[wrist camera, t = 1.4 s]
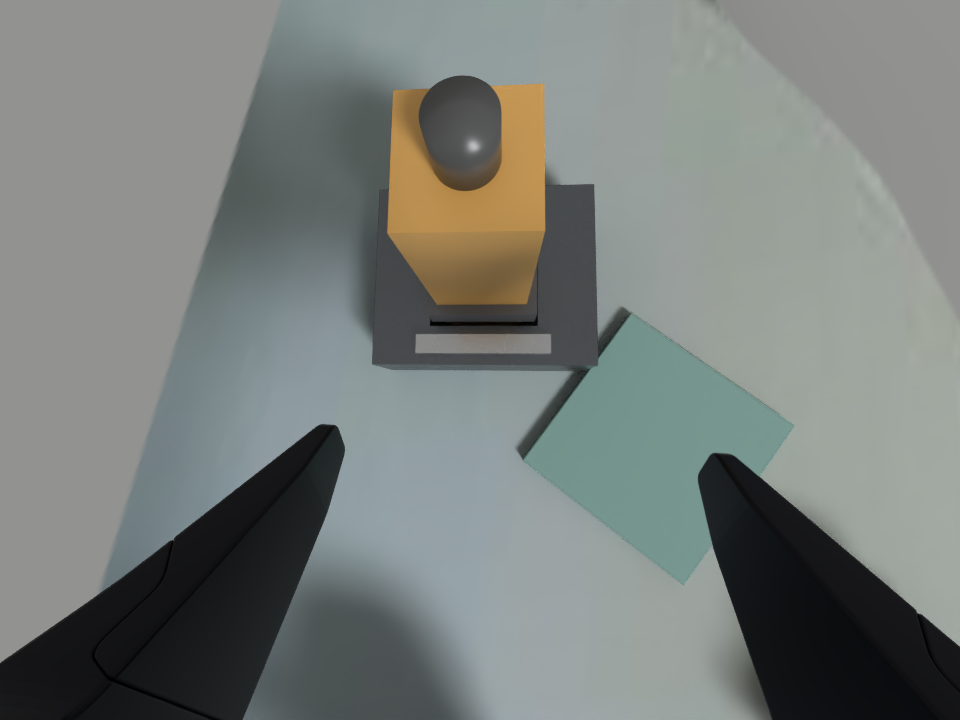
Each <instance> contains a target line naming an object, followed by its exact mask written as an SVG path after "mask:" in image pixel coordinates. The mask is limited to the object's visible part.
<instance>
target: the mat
mask: <svg viewBox="0 0 960 720" xmlns="http://www.w3.org/2000/svg"><path fill="white" fill-rule="evenodd" d="M794 426H795V425H793V424H792V423H790V422H789V421H787V420H786V419H784V418H783V417H782V416H780V415H779V414H777V413H776V412H774V411H773V410H771V409H770V408H769V407H767V406H766V405H764V404H763V403H761V402H760V401H758V400H757V399H755V398H754V397H753V396H751V395H750V394H748V393H747V392H745V391H744V390H742V389H741V388H739V387H738V386H737V385H735V384H734V383H732V382H731V381H729V380H728V379H726V378H725V377H723V376H722V375H721V374H719V373H718V372H716V371H715V370H713V369H712V368H710V367H709V366H707V365H706V364H705V363H703V362H702V361H700V360H699V359H697V358H696V357H694V356H693V355H691V354H690V353H689V352H687V351H686V350H684V349H683V348H681V347H680V346H678V345H677V344H675V343H674V342H673V341H671V340H670V339H668V338H667V337H665V336H664V335H662V334H661V333H659V332H658V331H657V330H655V329H654V328H652V327H651V326H649V325H648V324H646V323H645V322H644V321H642V320H641V319H639V318H638V317H636V316H635V315H633V314H630V315H629V316H628V317H627V318H626V320H625V321H624V322H623V324H622V325H621V326H620V328H619V329H618V330H617V332H616V333H615V334H614V336H613V337H612V339H611V340H610V341H609V343H608V344H607V345H606V347H605V348H604V349H603V351H602V352H601V353H600V355H599V356H598V366H596V367H593V368H590V369H589V370H588V371H587V372H586V374H585V375H584V376H583V378H582V379H581V381H580V382H579V383H578V385H577V386H576V387H575V389H574V390H573V391H572V393H571V394H570V395H569V397H568V398H567V399H566V401H565V402H564V404H563V405H562V406H561V408H560V409H559V410H558V412H557V413H556V414H555V416H554V417H553V418H552V420H551V421H550V423H549V424H548V425H547V427H546V428H545V429H544V431H543V432H542V433H541V435H540V436H539V437H538V439H537V440H536V441H535V443H534V444H533V446H532V447H531V448H530V450H529V451H528V452H527V454H526V455H525V456H524V458H523V461H524V462H525V463H526V464H528V465H529V466H530V467H532V468H533V469H534V470H535V471H537V472H538V473H539V474H541V475H542V476H543V477H544V478H546V479H547V480H548V481H550V482H551V483H552V484H554V485H555V486H556V487H557V488H559V489H560V490H561V491H563V492H564V493H565V494H566V495H568V496H569V497H570V498H572V499H573V500H574V501H575V502H577V503H578V504H579V505H581V506H582V507H583V508H584V509H586V510H587V511H588V512H590V513H591V514H592V515H593V516H595V517H596V518H597V519H599V520H600V521H601V522H602V523H604V524H605V525H606V526H608V527H609V528H610V529H612V530H613V531H614V532H615V533H617V534H618V535H619V536H621V537H622V538H623V539H624V540H626V541H627V542H628V543H630V544H631V545H632V546H633V547H635V548H636V549H637V550H639V551H640V552H641V553H642V554H644V555H645V556H646V557H648V558H649V559H650V560H651V561H653V562H654V563H655V564H657V565H658V566H659V567H660V568H662V569H663V570H664V571H666V572H667V573H668V574H669V575H671V576H672V577H673V578H675V579H676V580H677V581H679V582H680V583H681V584H682V585H684V584H685V583H686V581H687V580H688V578H689V577H690V575H691V574H692V573H693V571H694V570H695V568H696V567H697V565H698V564H699V563H700V561H701V560H702V558H703V557H704V555H705V554H706V552H707V551H708V550H709V548H710V547H711V545H712V541H711V537H710V533H709V529H708V524H707V520H706V516H705V511H704V507H703V503H702V498H701V494H700V490H699V485H698V474H699V471H700V470H701V468H702V467H703V465H704V463H705V462H706V460H707V459H708V457H709V456H710V454H712V453H728V454H732V455H734V456H735V457H737V458H738V459H739V460H740V461H741V462H743V463H744V464H745V465H746V466H747V467H749V468H750V469H751V470H752V471H753V472H754V473H756V474H757V475H758V476H760V475H761V474H762V472H763V471H764V469H765V468H766V466H767V465H768V463H769V462H770V461H771V459H772V458H773V456H774V455H775V453H776V452H777V451H778V449H779V448H780V446H781V445H782V443H783V442H784V441H785V439H786V438H787V436H788V435H789V433H790V432H791V430H792V429H793V428H794Z"/></svg>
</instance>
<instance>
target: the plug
mask: <svg viewBox="0 0 960 720" xmlns="http://www.w3.org/2000/svg"><path fill="white" fill-rule="evenodd" d="M387 234H388V235H389V237H390V238H391V239H392V241H393V242H394V244H395V245H396V247H397V248H398V249H399V251H400V252H401V254H402V255H403V257H404V258H405V260H406V261H407V262H408V264H409V265H410V267H411V268H412V270H413V271H414V272H415V274H416V275H417V277H418V278H419V280H420V281H421V283H422V284H423V285H424V287H425V288H426V290H427V316H428V317H429V318H430V319H431V320H432V321H433V322H449V323H450V324H451V326H521V325H522V322H533V321H535V319H536V316H537V262H538V258H539V254H540V250H541V246H542V242H543V238H544V234H545V133H544V84H529V85H506V86H490V85H488V84H487V83H486V82H484V81H482V80H480V79H478V78H475V77H471V76H454V77H450V78H447V79H444V80H442V81H440V82H438V83H437V84H435V85H434V86H433V87H432V88H431V89H415V90H393V108H392V132H391V156H390V180H389V204H388V228H387Z"/></svg>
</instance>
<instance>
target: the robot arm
mask: <svg viewBox="0 0 960 720" xmlns="http://www.w3.org/2000/svg"><path fill="white" fill-rule="evenodd" d="M344 453H345V446H344V443H343V440H342V437H341V434H340V431H339V429H338V427H337V426H336V425H327V424H321V425H318V426H317V427H315V428H314V429H313V430H312V431H310V432H309V433H308V434H306V435H305V436H304V437H303V438H301V439H300V440H299V441H297V442H296V443H295V444H294V445H292V446H291V447H290V448H288V449H287V450H286V451H285V452H283V453H282V454H281V455H279V456H278V457H277V458H276V459H274V460H273V461H272V462H271V463H269V464H268V465H267V466H265V467H264V468H263V469H262V470H260V471H259V472H258V473H256V474H255V475H254V476H253V477H251V478H250V479H249V480H247V481H246V482H245V483H244V484H242V485H241V486H240V487H239V488H237V489H236V490H235V491H233V492H232V493H231V494H230V495H228V496H227V497H226V498H224V499H223V500H222V501H221V502H219V503H218V504H217V505H215V506H214V507H213V508H212V509H210V510H209V511H208V512H207V513H205V514H204V515H203V516H201V517H200V518H199V519H198V520H196V521H195V522H194V523H192V524H191V525H190V526H189V527H187V528H186V529H185V530H183V531H182V532H181V533H180V534H178V535H177V536H176V537H175V538H174V541H173V540H171V541H169V542H168V543H167V544H165V545H164V546H163V547H161V548H160V549H159V550H158V551H156V552H155V553H154V554H153V555H151V556H150V557H149V558H147V559H146V560H145V561H143V562H142V563H141V564H139V565H138V566H137V567H135V568H134V569H133V570H131V571H130V572H129V573H127V574H126V575H125V576H123V577H122V578H121V579H119V580H118V581H117V582H115V583H114V584H112V585H111V586H110V587H108V588H107V589H105V590H104V591H103V592H101V593H100V594H98V595H97V596H96V597H94V598H93V599H91V600H90V601H89V602H88V603H86V604H84V605H83V606H82V607H80V608H79V609H77V610H76V611H74V612H73V613H71V614H70V615H69V616H67V617H66V618H64V619H63V620H61V621H60V622H58V623H57V624H55V625H54V626H53V627H51V628H50V629H48V630H47V631H45V632H44V633H43V634H41V635H40V636H38V637H37V638H35V639H34V640H32V641H31V642H29V643H28V644H27V645H25V646H24V647H22V648H21V649H19V650H18V651H16V652H15V653H14V654H12V655H11V656H9V657H8V658H6V659H5V660H4V661H2V662H1V663H0V720H243V717H244V715H245V713H246V710H247V708H248V705H249V703H250V700H251V698H252V695H253V693H254V691H255V688H256V686H257V683H258V681H259V678H260V676H261V674H262V671H263V669H264V666H265V664H266V661H267V659H268V656H269V654H270V652H271V649H272V647H273V644H274V642H275V639H276V637H277V634H278V632H279V630H280V627H281V625H282V622H283V620H284V617H285V615H286V613H287V610H288V608H289V605H290V603H291V600H292V598H293V595H294V593H295V591H296V588H297V586H298V583H299V581H300V578H301V576H302V574H303V571H304V569H305V566H306V564H307V561H308V559H309V556H310V554H311V552H312V549H313V547H314V544H315V542H316V539H317V537H318V535H319V532H320V530H321V527H322V525H323V522H324V520H325V517H326V514H327V512H328V509H329V506H330V502H331V499H332V495H333V492H334V489H335V485H336V482H337V478H338V475H339V471H340V468H341V464H342V461H343V457H344ZM698 485H699V490H700V494H701V498H702V503H703V507H704V511H705V516H706V520H707V524H708V529H709V533H710V537H711V541H712V545H713V549H714V552H715V555H716V558H717V561H718V564H719V567H720V570H721V572H722V575H723V578H724V581H725V584H726V587H727V590H728V593H729V596H730V599H731V601H732V604H733V607H734V610H735V613H736V616H737V619H738V622H739V625H740V628H741V630H742V633H743V636H744V639H745V642H746V645H747V648H748V651H749V654H750V657H751V659H752V662H753V665H754V668H755V671H756V674H757V677H758V680H759V683H760V686H761V688H762V691H763V694H764V697H765V700H766V703H767V706H768V709H769V712H770V715H771V717H772V720H960V646H958V645H957V644H956V643H955V642H954V641H952V640H951V639H950V638H949V637H948V636H946V635H945V634H944V633H943V632H942V631H940V630H939V629H938V628H937V627H936V626H935V625H933V624H932V623H931V622H930V621H929V620H928V619H926V618H925V617H924V616H923V615H921V614H918V613H917V611H916V610H915V609H914V608H913V607H912V606H911V605H910V604H909V603H907V602H906V601H905V600H904V599H903V598H901V597H900V596H899V595H898V594H897V593H896V592H894V591H893V590H892V589H891V588H890V587H889V586H887V585H886V584H885V583H884V582H883V581H881V580H880V579H879V578H878V577H877V576H876V575H874V574H873V573H872V572H871V571H870V570H869V569H867V568H866V567H865V566H864V565H863V564H861V563H860V562H859V561H858V560H857V559H856V558H854V557H853V556H852V555H851V554H850V553H849V552H847V551H846V550H845V549H844V548H843V547H841V546H840V545H839V544H838V543H837V542H836V541H834V540H833V539H832V538H831V537H830V536H829V535H827V534H826V533H825V532H824V531H823V530H821V529H820V528H819V527H818V526H817V525H816V524H814V523H813V522H812V521H811V520H810V519H809V518H807V517H806V516H805V515H804V514H803V513H801V512H800V511H799V510H798V509H797V508H796V507H794V506H793V505H792V504H791V503H790V502H789V501H787V500H786V499H785V498H784V497H783V496H781V495H780V494H779V493H778V492H777V491H776V490H774V489H773V488H772V487H771V486H770V485H769V484H767V483H766V482H765V481H764V480H763V479H761V478H760V477H759V476H758V475H757V474H756V473H754V472H753V471H752V470H751V469H750V468H749V467H747V466H746V465H745V464H744V463H743V462H741V461H740V460H739V459H738V458H737V457H735V456H734V455H732V454H728V453H712V454H710V456H709V457H708V459H707V460H706V462H705V463H704V465H703V467H702V468H701V470H700V471H699V474H698Z"/></svg>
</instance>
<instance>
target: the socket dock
mask: <svg viewBox="0 0 960 720" xmlns="http://www.w3.org/2000/svg"><path fill="white" fill-rule="evenodd" d="M388 204H389V190H380V196H379V219H378V241H377V264H376V286H375V309H374V331H373V354H372V364H373V365H376V366H380V367H384V368H388V369H391V370H520V371H585V370H587V369H590V368H593V367H596V366H598V330H597V287H596V245H595V202H594V184H584V185H545V234H544V238H543V242H542V246H541V250H540V254H539V258H538V262H537V316H536V319H535V321H533V322H532V326H441V322H433V321H432V320H431V319H430V318H429V317H428V316H427V290H426V288H425V287H424V285H423V284H422V283H421V281H420V280H419V278H418V277H417V275H416V274H415V272H414V271H413V270H412V268H411V267H410V265H409V264H408V262H407V261H406V260H405V258H404V257H403V255H402V254H401V252H400V251H399V249H398V248H397V247H396V245H395V244H394V242H393V241H392V239H391V238H390V237H389V235H388V234H387V228H388Z"/></svg>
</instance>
